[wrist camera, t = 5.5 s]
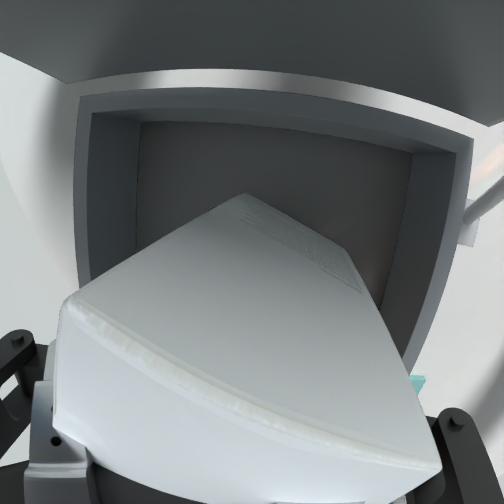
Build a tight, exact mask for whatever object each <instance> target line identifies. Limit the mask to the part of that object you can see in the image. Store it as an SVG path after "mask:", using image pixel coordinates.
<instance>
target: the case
mask: <svg viewBox="0 0 504 504" xmlns="http://www.w3.org/2000/svg"><path fill="white" fill-rule="evenodd" d="M150 121H182V122H212V123H230V124H243V125H255V126H265V127H274V128H283V129H291V130H298V131H305V132H312V133H319V134H325V135H331V136H336V137H342V138H347V139H352V140H358V141H362V142H367V143H372V144H376V145H381V146H385V147H389V148H394V149H398V150H402V151H406V152H409V153H413V154H412V162H411V170H410V177H409V183H408V190H407V196H406V201H405V207H404V212H403V218H402V223H401V227H400V232H399V237H398V241H397V246H396V250H395V254H394V258H393V262H392V266H391V270H390V274H389V278H388V282H387V285H386V289H385V292H384V296H383V299H382V303H381V306H380V309H379V313H380V315H381V317H382V319H383V321H384V323H385V325H386V327H387V329H388V331H389V333H390V336H391V338H392V340H393V342H394V344H395V346H396V348H397V350H398V353H399V355H400V357H401V359H402V361H403V364H404V366H405V368H406V371H407V373H408V375H410V373H411V371H412V369H413V367H414V365H415V362H416V360H417V358H418V356H419V354H420V351H421V349H422V347H423V344H424V342H425V340H426V337H427V335H428V332H429V330H430V327H431V325H432V322H433V319H434V317H435V314H436V311H437V309H438V306H439V303H440V300H441V297H442V294H443V291H444V288H445V285H446V282H447V278H448V275H449V272H450V268H451V265H452V261H453V258H454V254H455V250H456V246H457V244H460V245H465V246H469V247H473V246H474V242H475V238H476V233H477V229H478V224H479V220H480V217H481V216H482V215H484V214H485V213H486V212H488V211H489V210H490V209H492V208H493V207H494V206H496V205H497V204H498V203H499V202H501V201H502V200H503V199H504V176H503V177H502V178H501V179H500V180H498V181H497V182H496V183H495V184H494V185H493V186H492V187H491V188H489V189H488V190H487V191H486V192H485V193H484V194H483V195H481V196H480V197H479V198H478V199H477V200H476V201H473V200H470V199H467V193H468V187H469V180H470V172H471V164H472V155H473V144H474V139H473V138H470V137H468V136H465V135H463V134H460V133H457V132H455V131H452V130H449V129H446V128H443V127H440V126H437V125H434V124H431V123H428V122H425V121H422V120H419V119H415V118H412V117H408V116H405V115H401V114H398V113H394V112H390V111H386V110H382V109H378V108H374V107H369V106H365V105H360V104H356V103H351V102H346V101H340V100H335V99H329V98H323V97H317V96H310V95H303V94H295V93H287V92H278V91H268V90H256V89H240V88H213V87H183V88H156V89H141V90H129V91H119V92H110V93H102V94H95V95H88V96H82V97H80V103H79V111H78V119H77V129H76V140H75V155H74V183H73V206H74V234H75V249H76V261H77V271H78V280H79V288H80V289H81V288H82V287H84V286H85V285H87V284H88V283H90V282H91V281H93V280H94V279H96V278H97V277H99V276H100V275H102V274H104V273H105V272H107V271H108V270H110V269H111V268H113V267H115V266H116V265H118V264H120V263H121V262H123V261H125V260H126V259H128V258H130V257H131V256H133V255H135V254H136V194H137V173H138V158H139V146H140V135H141V125H142V122H150Z"/></svg>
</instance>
